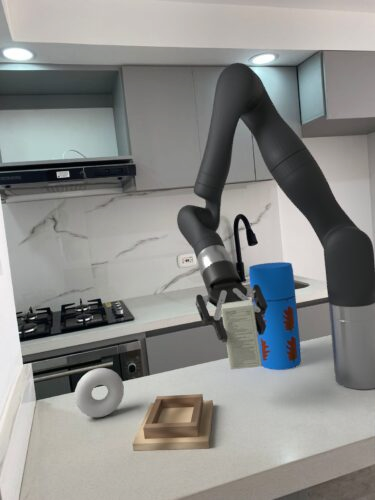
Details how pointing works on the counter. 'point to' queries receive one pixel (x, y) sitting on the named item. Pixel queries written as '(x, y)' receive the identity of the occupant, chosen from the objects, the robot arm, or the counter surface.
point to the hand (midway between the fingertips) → (244, 336)
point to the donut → (104, 405)
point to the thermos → (278, 315)
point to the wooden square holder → (176, 423)
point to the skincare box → (241, 334)
